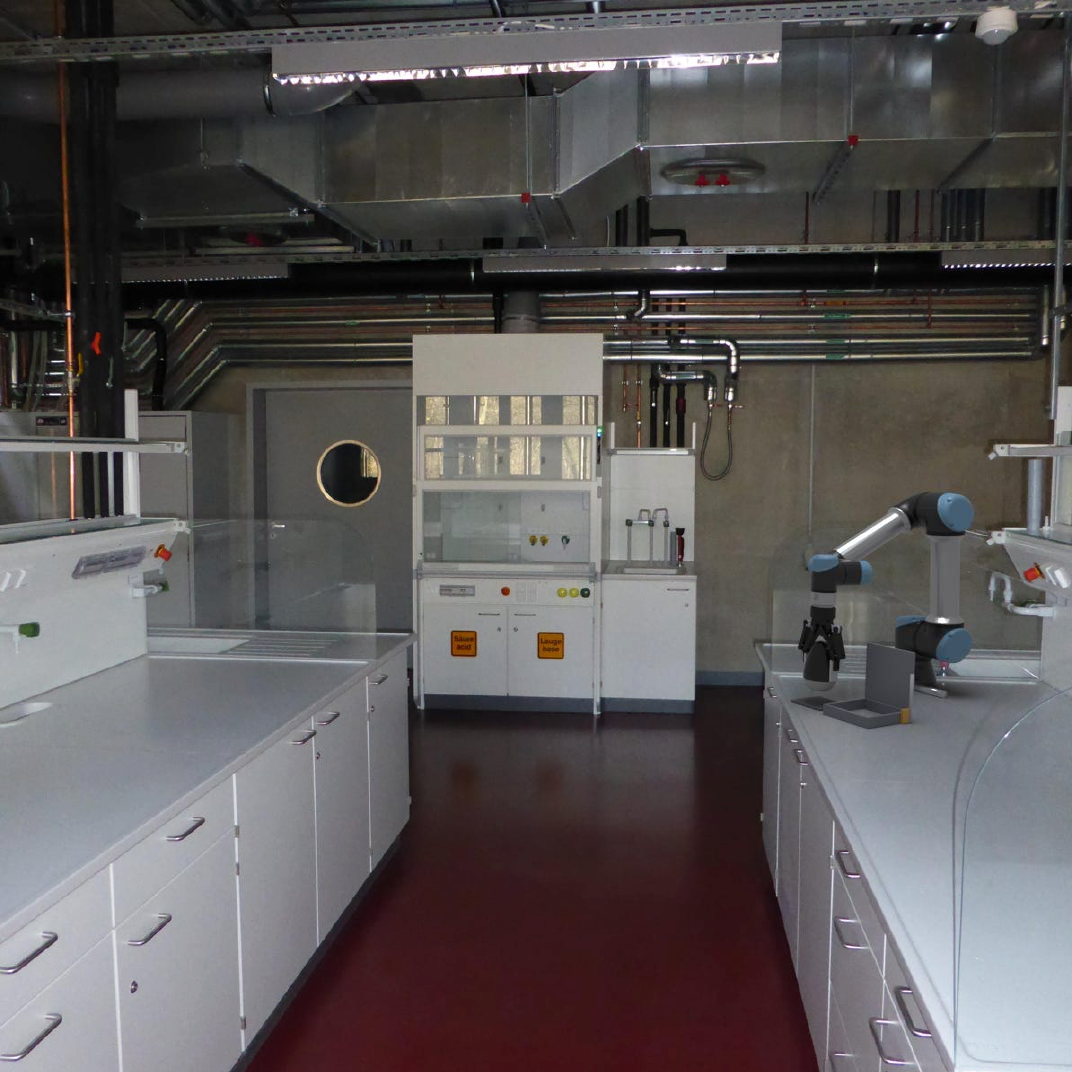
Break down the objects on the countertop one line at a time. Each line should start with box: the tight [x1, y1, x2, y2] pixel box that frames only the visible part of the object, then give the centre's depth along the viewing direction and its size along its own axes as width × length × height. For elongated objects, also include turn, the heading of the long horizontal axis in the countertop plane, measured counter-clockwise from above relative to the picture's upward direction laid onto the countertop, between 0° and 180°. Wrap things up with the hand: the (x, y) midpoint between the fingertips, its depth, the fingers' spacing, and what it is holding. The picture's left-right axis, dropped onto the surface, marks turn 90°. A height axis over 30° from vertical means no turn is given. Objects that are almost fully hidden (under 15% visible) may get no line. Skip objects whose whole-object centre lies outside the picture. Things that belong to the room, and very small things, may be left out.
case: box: [822, 641, 915, 730], centre depth 277 cm, size 18×18×20 cm
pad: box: [790, 695, 838, 712], centre depth 293 cm, size 12×12×1 cm
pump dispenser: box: [802, 640, 837, 692], centre depth 292 cm, size 10×10×15 cm
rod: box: [914, 683, 949, 699], centre depth 308 cm, size 12×2×2 cm, turn 28°
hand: (820, 677), depth 293 cm, fingers closed on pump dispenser, 10 cm apart
